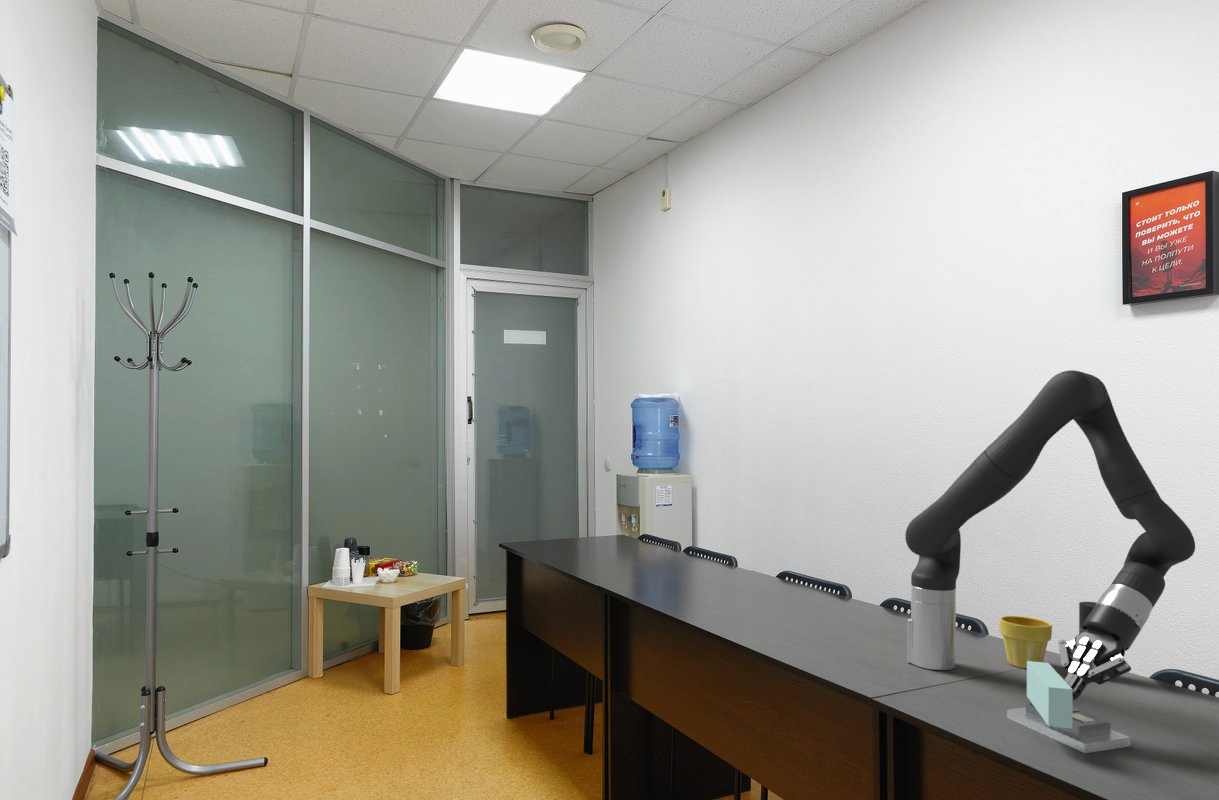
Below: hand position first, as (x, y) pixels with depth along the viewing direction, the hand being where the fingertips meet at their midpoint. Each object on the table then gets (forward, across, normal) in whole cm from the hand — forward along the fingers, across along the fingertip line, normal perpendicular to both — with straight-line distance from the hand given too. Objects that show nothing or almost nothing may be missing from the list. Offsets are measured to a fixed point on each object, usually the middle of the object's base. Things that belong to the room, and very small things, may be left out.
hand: (1067, 695), depth 135 cm
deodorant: (-20, -26, +32) cm, 46 cm away
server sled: (+3, -3, +7) cm, 9 cm away
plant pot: (-14, -35, +26) cm, 46 cm away
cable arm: (+3, -3, +1) cm, 5 cm away
